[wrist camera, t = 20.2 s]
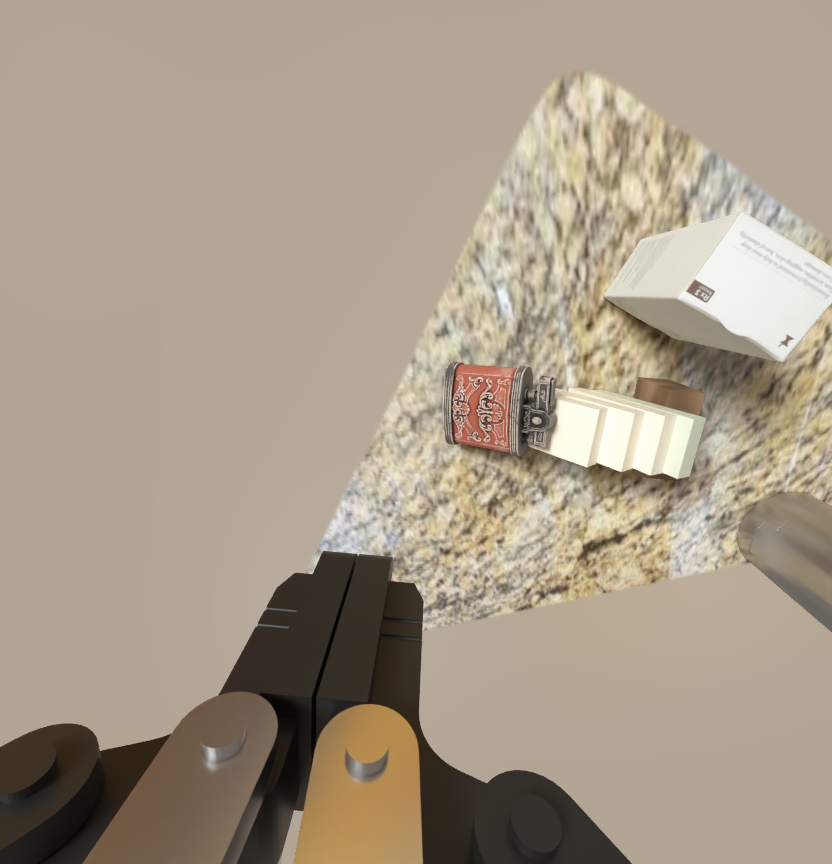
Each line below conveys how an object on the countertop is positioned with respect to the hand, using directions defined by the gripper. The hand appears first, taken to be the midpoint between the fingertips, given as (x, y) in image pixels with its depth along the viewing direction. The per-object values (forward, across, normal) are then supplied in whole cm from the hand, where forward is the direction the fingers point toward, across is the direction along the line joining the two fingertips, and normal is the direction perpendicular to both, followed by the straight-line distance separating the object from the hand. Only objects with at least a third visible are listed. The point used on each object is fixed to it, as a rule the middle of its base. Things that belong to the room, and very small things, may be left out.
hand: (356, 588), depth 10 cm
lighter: (+34, -3, +4) cm, 34 cm away
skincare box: (+35, -21, -8) cm, 42 cm away
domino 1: (+34, -9, +4) cm, 36 cm away
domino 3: (+35, -15, +4) cm, 38 cm away
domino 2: (+34, -12, +4) cm, 37 cm away
